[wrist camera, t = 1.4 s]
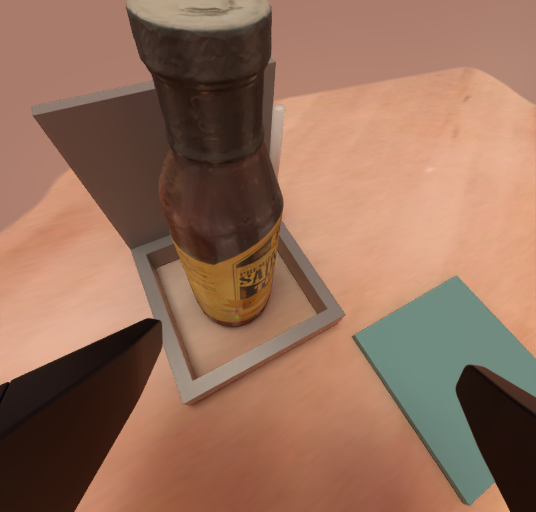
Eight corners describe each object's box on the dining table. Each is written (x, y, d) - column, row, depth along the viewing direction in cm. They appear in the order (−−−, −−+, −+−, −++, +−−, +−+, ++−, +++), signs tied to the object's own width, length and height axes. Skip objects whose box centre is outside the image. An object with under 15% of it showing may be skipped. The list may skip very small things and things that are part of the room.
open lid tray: (190, 405, 20) (85, 387, 7) (138, 257, 26) (30, 106, 13) (337, 323, 23) (435, 217, 11) (263, 209, 29) (270, 55, 17)
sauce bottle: (256, 339, 22) (269, 92, 5) (186, 315, 23) (-3, 29, 6) (279, 271, 26) (333, -18, 9) (217, 252, 26) (151, -51, 9)
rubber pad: (463, 503, 18) (469, 505, 17) (352, 336, 23) (354, 335, 22) (570, 404, 21) (578, 404, 21) (452, 278, 26) (456, 275, 26)
